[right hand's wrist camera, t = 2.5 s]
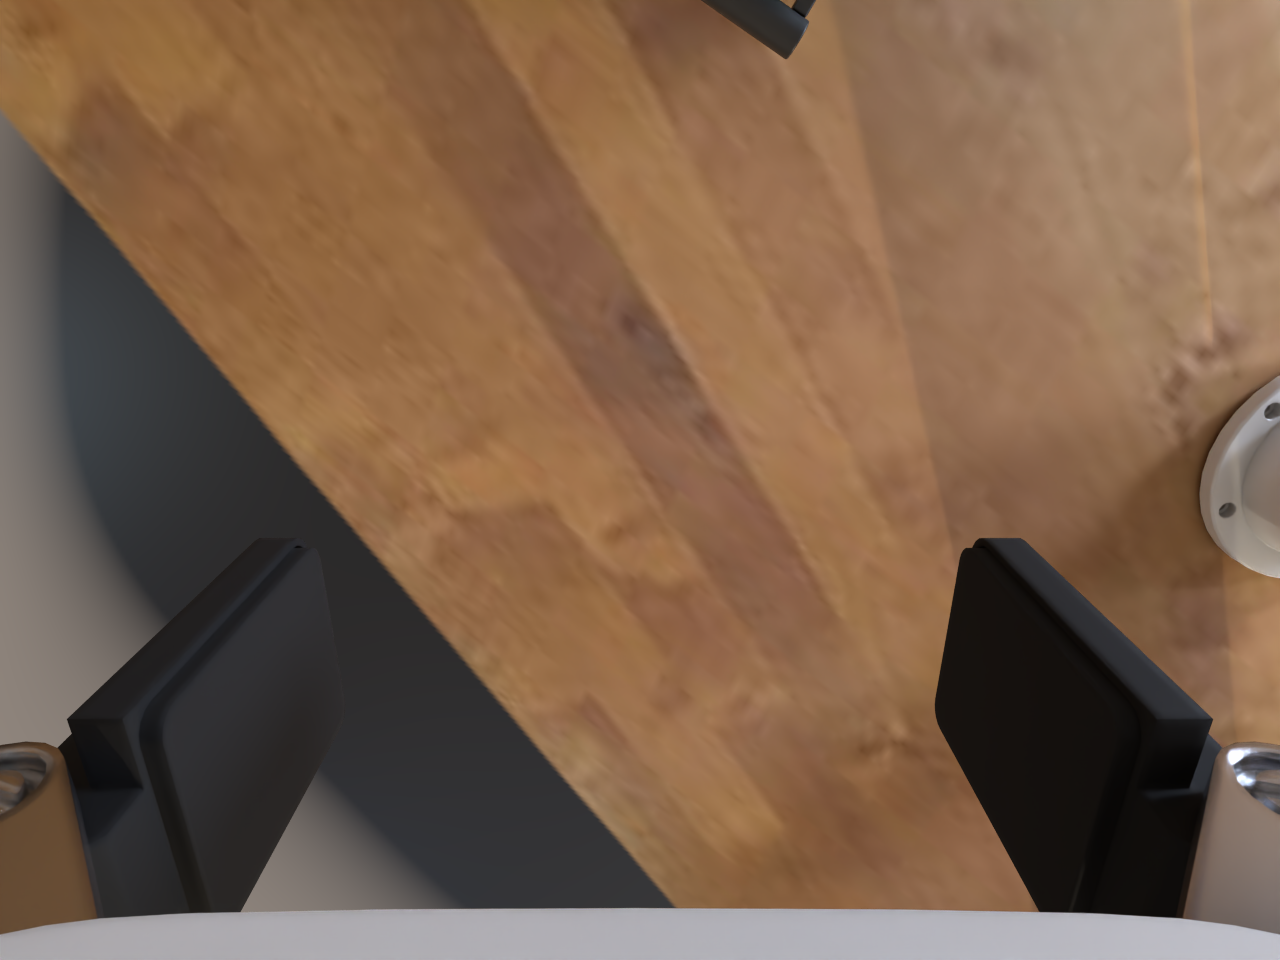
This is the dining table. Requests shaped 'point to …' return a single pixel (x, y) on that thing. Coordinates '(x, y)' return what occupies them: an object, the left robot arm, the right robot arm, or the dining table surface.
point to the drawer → (768, 20)
